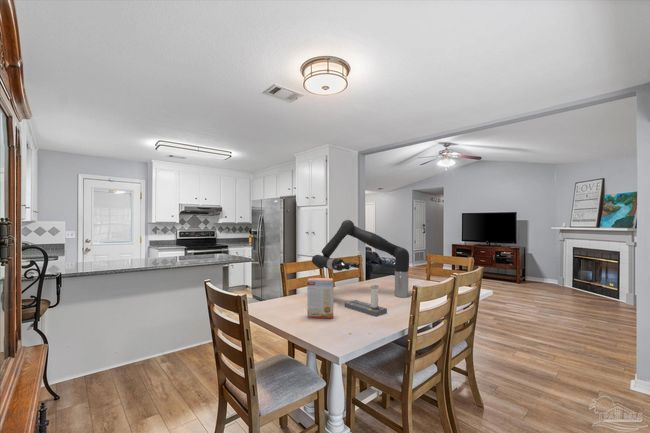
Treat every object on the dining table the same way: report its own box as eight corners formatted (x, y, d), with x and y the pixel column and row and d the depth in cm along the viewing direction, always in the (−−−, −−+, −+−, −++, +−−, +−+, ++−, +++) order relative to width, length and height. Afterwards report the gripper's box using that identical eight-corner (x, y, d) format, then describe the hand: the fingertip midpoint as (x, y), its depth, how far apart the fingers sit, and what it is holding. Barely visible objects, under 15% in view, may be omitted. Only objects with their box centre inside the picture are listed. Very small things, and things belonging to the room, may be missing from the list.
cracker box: (333, 315, 176) (333, 277, 176) (332, 318, 170) (332, 280, 170) (308, 314, 177) (308, 277, 177) (307, 317, 171) (307, 279, 171)
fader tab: (369, 307, 181) (369, 285, 181) (373, 306, 183) (374, 284, 183) (374, 308, 178) (375, 286, 178) (379, 307, 180) (379, 285, 180)
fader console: (344, 306, 191) (344, 302, 191) (355, 303, 198) (355, 299, 198) (375, 316, 173) (375, 311, 173) (386, 312, 180) (386, 308, 180)
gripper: (327, 259, 200) (345, 262, 188) (343, 257, 209) (361, 259, 197) (327, 271, 200) (345, 274, 188) (343, 268, 209) (361, 271, 197)
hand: (353, 267), depth 193 cm, fingers open, 8 cm apart
